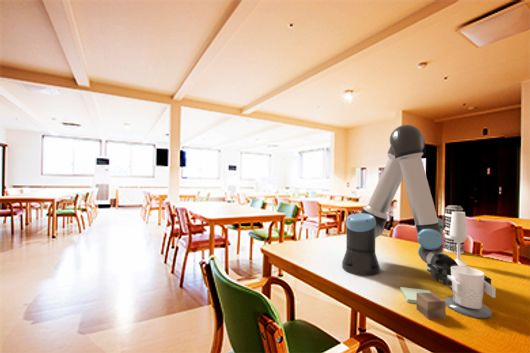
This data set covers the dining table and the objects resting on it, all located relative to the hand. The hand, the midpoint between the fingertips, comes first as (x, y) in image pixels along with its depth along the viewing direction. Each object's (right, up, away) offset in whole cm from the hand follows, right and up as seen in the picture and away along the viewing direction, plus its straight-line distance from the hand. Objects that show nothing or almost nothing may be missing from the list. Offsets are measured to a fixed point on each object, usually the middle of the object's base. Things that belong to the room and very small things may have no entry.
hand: (476, 290), depth 68 cm
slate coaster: (+1, -8, +5) cm, 9 cm away
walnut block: (-12, -7, +1) cm, 14 cm away
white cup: (+1, -6, +5) cm, 8 cm away
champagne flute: (+30, -8, +44) cm, 54 cm away
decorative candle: (+43, -9, +63) cm, 77 cm away
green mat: (-9, -7, +11) cm, 16 cm away
